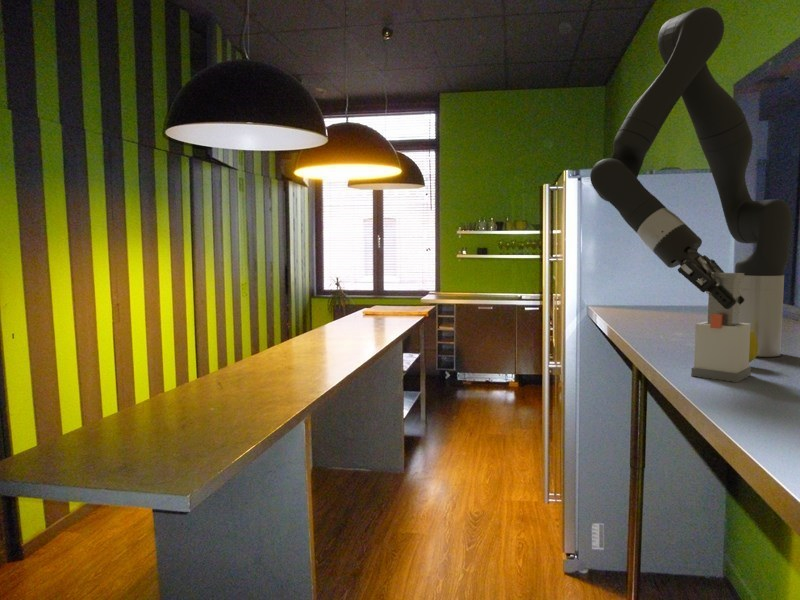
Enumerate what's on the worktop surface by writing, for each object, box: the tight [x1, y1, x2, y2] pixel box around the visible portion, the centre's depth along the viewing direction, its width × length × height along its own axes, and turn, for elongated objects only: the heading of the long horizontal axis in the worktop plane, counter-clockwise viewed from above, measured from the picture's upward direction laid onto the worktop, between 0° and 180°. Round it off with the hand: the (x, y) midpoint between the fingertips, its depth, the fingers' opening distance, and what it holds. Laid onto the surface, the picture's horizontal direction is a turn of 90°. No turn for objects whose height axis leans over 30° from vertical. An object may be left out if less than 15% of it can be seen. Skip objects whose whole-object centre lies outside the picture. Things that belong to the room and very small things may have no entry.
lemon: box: [749, 330, 758, 363], centre depth 117 cm, size 6×6×8 cm
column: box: [707, 272, 744, 326], centre depth 108 cm, size 5×5×17 cm
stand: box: [691, 314, 752, 383], centre depth 108 cm, size 8×8×12 cm
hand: (736, 304), depth 106 cm, fingers closed on column, 4 cm apart
